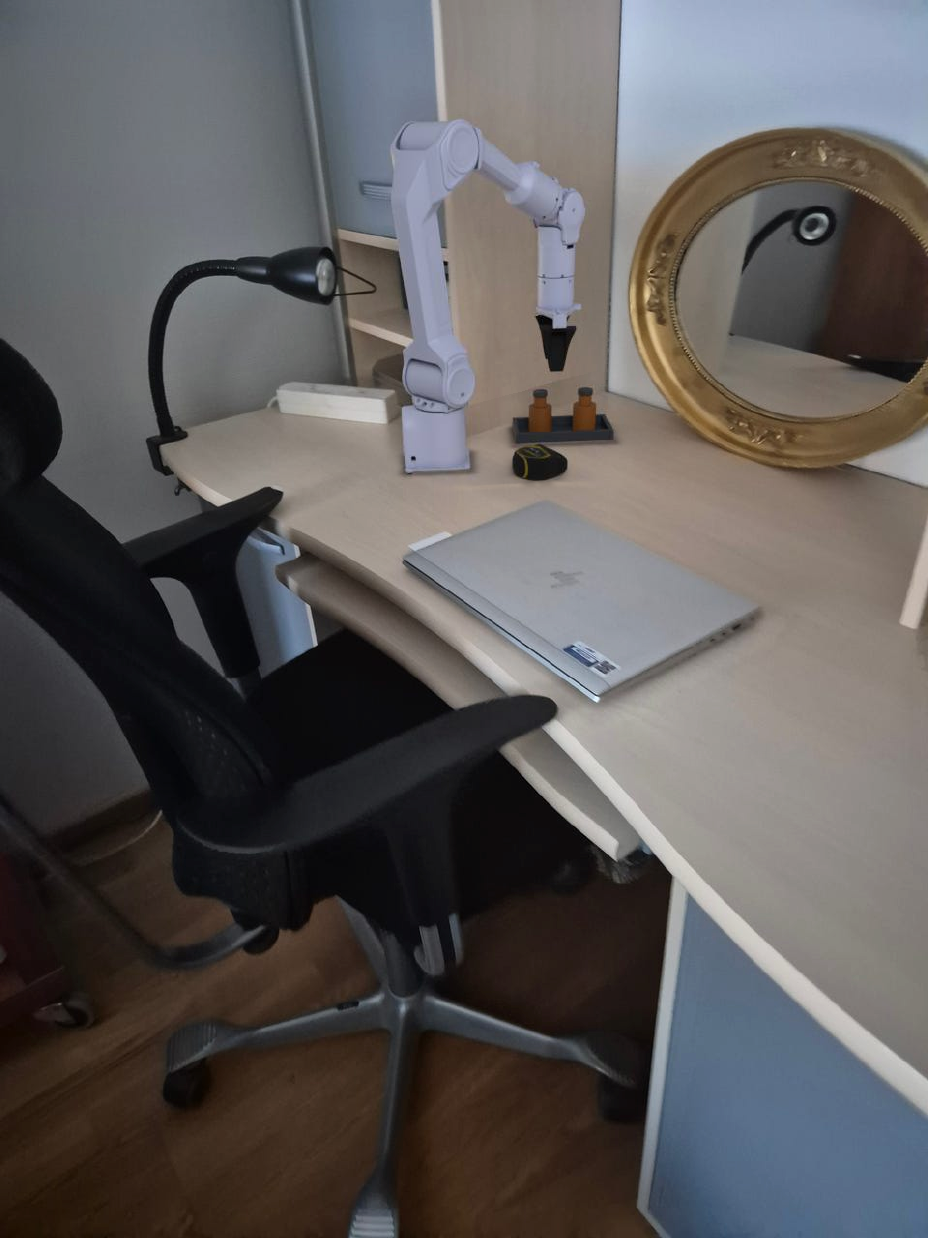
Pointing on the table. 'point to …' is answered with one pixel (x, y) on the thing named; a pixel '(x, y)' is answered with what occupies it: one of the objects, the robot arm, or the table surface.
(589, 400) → the amber bottle
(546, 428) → the row bottle
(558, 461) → the tape measure
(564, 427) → the tray
